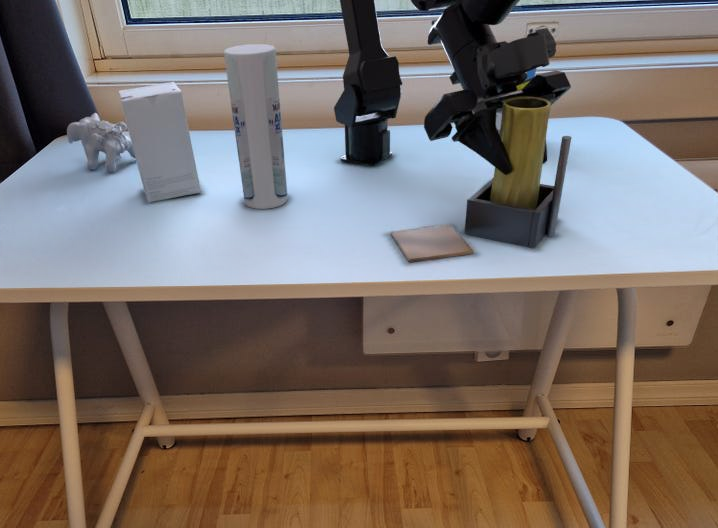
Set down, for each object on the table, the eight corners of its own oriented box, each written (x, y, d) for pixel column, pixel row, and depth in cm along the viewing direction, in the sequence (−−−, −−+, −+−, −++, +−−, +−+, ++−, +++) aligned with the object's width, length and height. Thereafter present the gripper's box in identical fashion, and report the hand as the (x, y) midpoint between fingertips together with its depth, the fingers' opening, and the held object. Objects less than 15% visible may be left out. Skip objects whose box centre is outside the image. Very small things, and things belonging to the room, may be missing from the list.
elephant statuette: (126, 174, 103) (114, 126, 99) (56, 175, 104) (41, 127, 100) (145, 155, 111) (135, 109, 106) (79, 156, 112) (66, 111, 107)
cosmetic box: (195, 181, 99) (177, 80, 90) (202, 194, 95) (184, 89, 86) (140, 190, 97) (117, 87, 88) (145, 204, 92) (120, 97, 84)
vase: (480, 211, 83) (493, 97, 74) (526, 208, 83) (544, 94, 75) (493, 231, 78) (508, 111, 70) (542, 228, 78) (563, 108, 70)
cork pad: (390, 234, 81) (390, 231, 81) (450, 226, 82) (450, 223, 82) (408, 262, 74) (409, 259, 74) (473, 253, 76) (473, 250, 75)
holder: (464, 233, 80) (472, 137, 73) (490, 208, 86) (500, 117, 79) (542, 250, 75) (559, 149, 68) (564, 222, 82) (582, 126, 74)
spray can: (244, 193, 94) (224, 45, 82) (288, 190, 94) (275, 42, 83) (243, 211, 89) (222, 55, 77) (289, 207, 89) (275, 52, 78)
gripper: (446, 13, 65) (508, 148, 64) (573, -6, 73) (631, 115, 72) (399, 80, 76) (452, 198, 75) (515, 57, 83) (565, 164, 82)
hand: (526, 168), depth 75 cm, fingers closed on vase, 5 cm apart
